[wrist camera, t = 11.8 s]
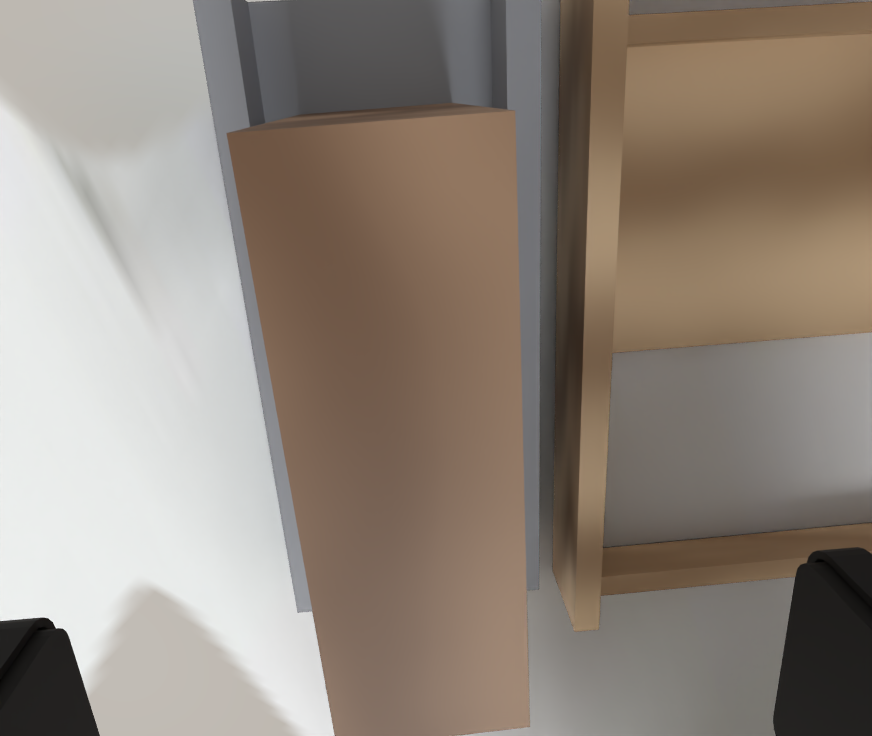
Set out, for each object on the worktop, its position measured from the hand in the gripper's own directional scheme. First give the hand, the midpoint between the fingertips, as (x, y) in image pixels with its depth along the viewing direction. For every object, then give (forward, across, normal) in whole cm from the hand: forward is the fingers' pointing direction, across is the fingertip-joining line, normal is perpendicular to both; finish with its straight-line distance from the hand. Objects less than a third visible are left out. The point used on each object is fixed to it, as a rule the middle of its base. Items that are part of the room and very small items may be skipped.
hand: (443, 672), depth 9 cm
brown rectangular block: (+12, 0, -1) cm, 12 cm away
